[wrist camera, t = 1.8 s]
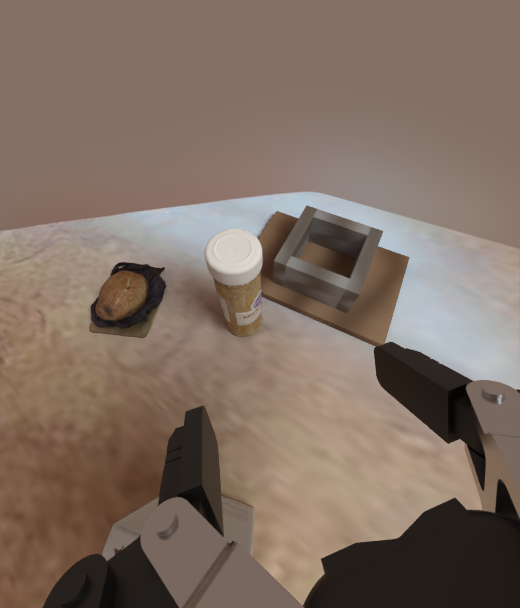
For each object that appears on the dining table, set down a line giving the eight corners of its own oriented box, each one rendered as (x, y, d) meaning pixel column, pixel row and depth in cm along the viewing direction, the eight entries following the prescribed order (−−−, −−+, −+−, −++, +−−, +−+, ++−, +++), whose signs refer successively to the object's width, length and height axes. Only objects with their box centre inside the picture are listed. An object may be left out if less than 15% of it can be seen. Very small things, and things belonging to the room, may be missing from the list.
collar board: (232, 283, 34) (227, 257, 29) (276, 216, 40) (278, 185, 35) (380, 348, 30) (403, 330, 25) (405, 261, 35) (428, 233, 30)
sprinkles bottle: (258, 340, 30) (255, 277, 18) (221, 333, 31) (195, 267, 19) (265, 306, 32) (267, 230, 20) (230, 301, 33) (212, 222, 21)
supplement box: (144, 586, 20) (2, 765, 9) (182, 479, 24) (111, 516, 13) (230, 623, 19) (188, 876, 8) (257, 507, 23) (254, 574, 12)
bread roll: (151, 341, 31) (138, 330, 28) (85, 333, 31) (65, 321, 28) (175, 270, 36) (167, 253, 32) (118, 264, 36) (104, 247, 33)
